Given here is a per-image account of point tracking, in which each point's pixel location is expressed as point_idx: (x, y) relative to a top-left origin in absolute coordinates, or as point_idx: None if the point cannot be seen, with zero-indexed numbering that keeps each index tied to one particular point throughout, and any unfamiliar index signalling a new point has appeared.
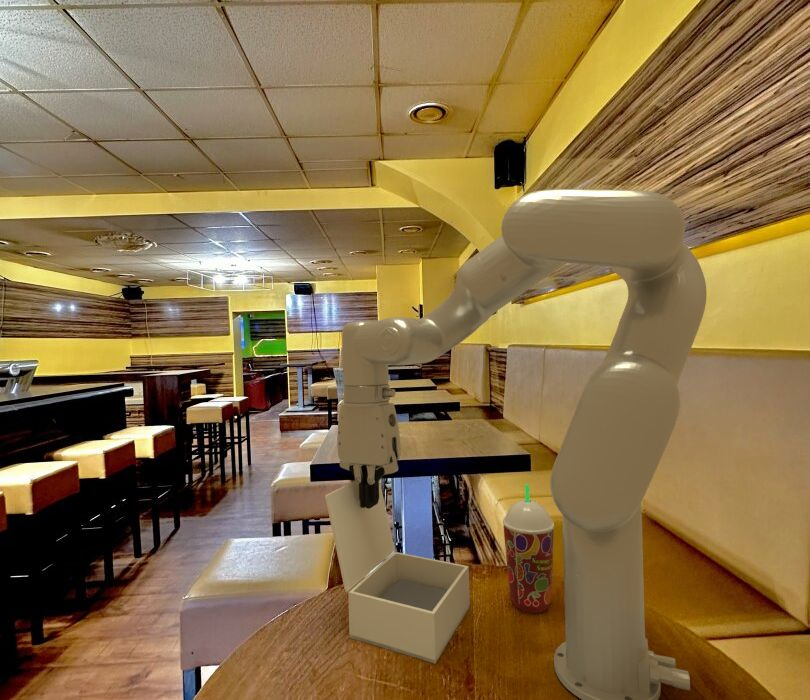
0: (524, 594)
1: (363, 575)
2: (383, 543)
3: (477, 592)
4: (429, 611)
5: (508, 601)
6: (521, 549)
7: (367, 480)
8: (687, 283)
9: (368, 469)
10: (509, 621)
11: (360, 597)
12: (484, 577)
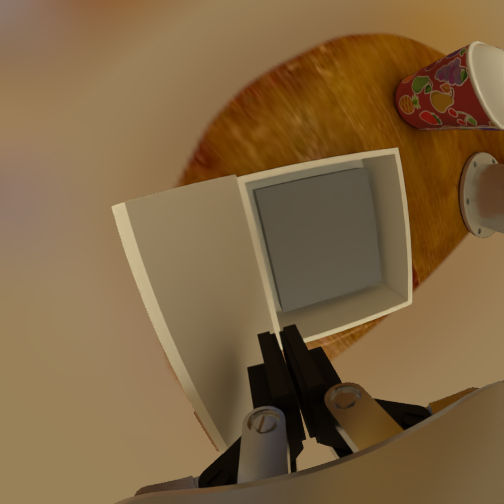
0: (435, 130)
1: (268, 310)
2: (241, 224)
3: (349, 108)
4: (405, 303)
5: (392, 111)
6: (482, 129)
7: (331, 450)
8: None
9: (286, 446)
10: (411, 156)
11: None
12: (332, 62)
